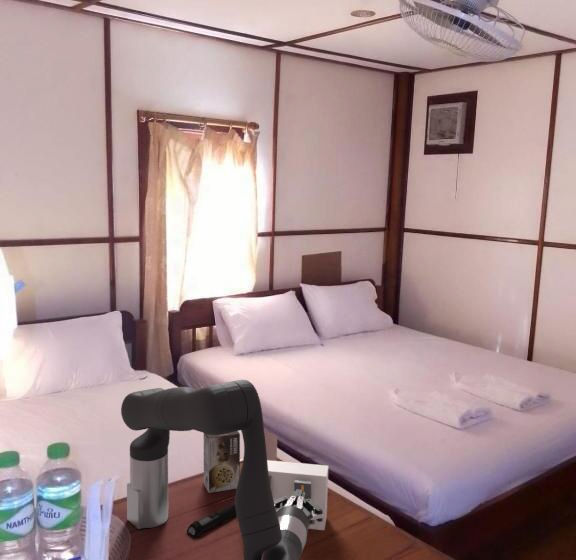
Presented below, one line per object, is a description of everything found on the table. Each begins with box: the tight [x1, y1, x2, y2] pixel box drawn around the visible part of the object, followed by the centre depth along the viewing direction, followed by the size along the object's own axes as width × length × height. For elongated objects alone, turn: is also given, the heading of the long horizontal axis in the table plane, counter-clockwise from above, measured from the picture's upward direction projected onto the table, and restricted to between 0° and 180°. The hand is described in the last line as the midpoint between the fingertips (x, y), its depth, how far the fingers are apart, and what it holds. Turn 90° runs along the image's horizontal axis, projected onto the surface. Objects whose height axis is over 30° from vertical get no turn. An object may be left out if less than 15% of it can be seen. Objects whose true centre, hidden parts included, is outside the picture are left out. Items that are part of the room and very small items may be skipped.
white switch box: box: [267, 460, 329, 531], centre depth 152 cm, size 21×6×14 cm, turn 81°
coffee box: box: [203, 431, 241, 494], centre depth 169 cm, size 9×6×16 cm
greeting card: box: [264, 430, 278, 461], centre depth 172 cm, size 11×7×15 cm, turn 15°
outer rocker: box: [294, 480, 311, 500], centre depth 147 cm, size 4×1×6 cm, turn 81°
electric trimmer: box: [186, 503, 237, 539], centre depth 151 cm, size 4×16×3 cm, turn 138°
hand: (299, 493), depth 139 cm, fingers closed
